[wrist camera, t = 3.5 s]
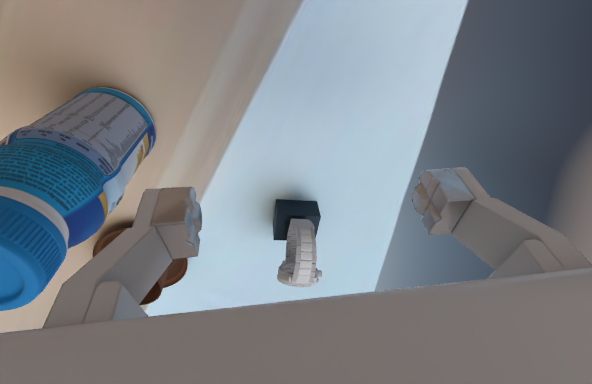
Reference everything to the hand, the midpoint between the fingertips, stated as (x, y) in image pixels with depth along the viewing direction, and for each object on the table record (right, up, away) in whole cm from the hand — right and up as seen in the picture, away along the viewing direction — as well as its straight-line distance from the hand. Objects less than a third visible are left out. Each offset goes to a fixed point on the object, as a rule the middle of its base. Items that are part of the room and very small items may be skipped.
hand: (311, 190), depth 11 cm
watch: (-1, -3, +30) cm, 31 cm away
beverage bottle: (-20, +7, +21) cm, 30 cm away
